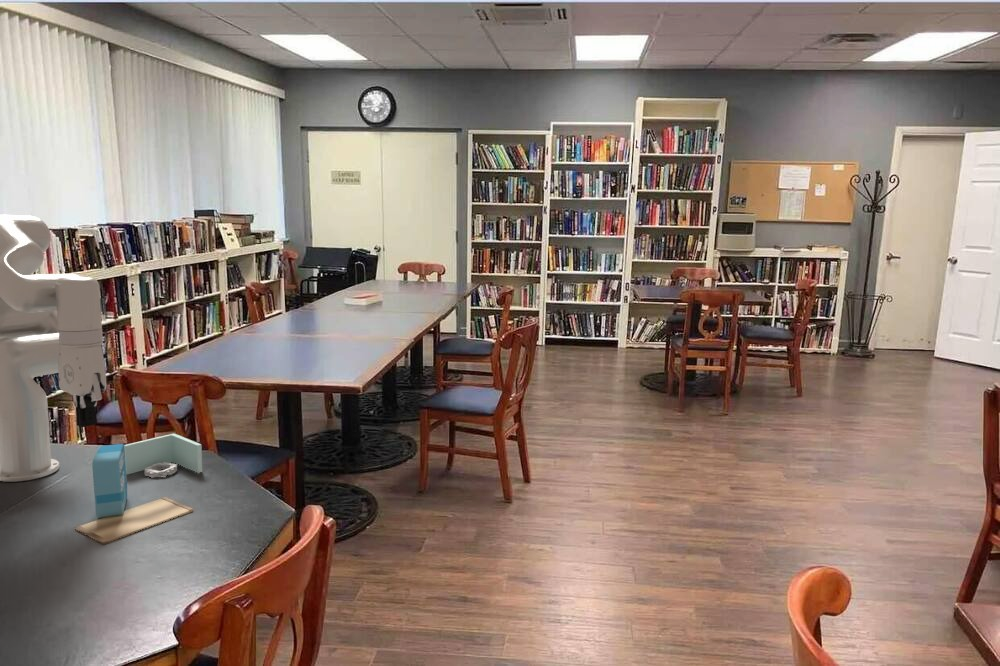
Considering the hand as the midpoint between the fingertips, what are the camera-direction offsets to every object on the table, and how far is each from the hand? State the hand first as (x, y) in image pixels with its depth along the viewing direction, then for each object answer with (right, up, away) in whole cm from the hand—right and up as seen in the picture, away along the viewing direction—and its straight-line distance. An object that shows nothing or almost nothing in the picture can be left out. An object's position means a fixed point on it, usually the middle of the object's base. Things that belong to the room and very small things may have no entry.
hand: (86, 424), depth 137 cm
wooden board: (+14, -18, -6) cm, 23 cm away
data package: (+6, -17, -2) cm, 18 cm away
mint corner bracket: (+7, -15, +18) cm, 24 cm away
